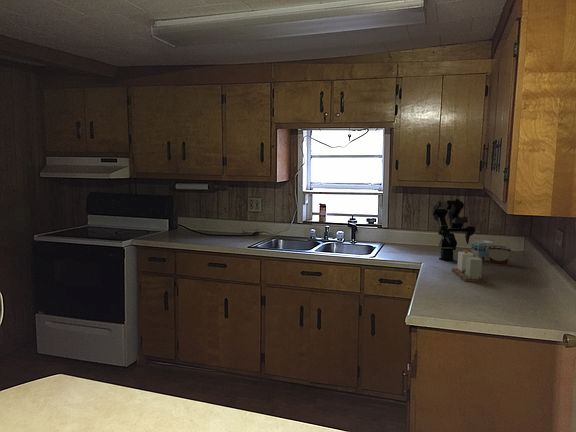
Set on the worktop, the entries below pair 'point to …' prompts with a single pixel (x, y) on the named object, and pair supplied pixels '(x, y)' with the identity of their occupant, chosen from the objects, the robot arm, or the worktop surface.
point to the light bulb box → (481, 249)
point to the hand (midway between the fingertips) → (459, 243)
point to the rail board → (466, 278)
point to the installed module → (473, 267)
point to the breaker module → (463, 259)
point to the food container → (499, 255)
